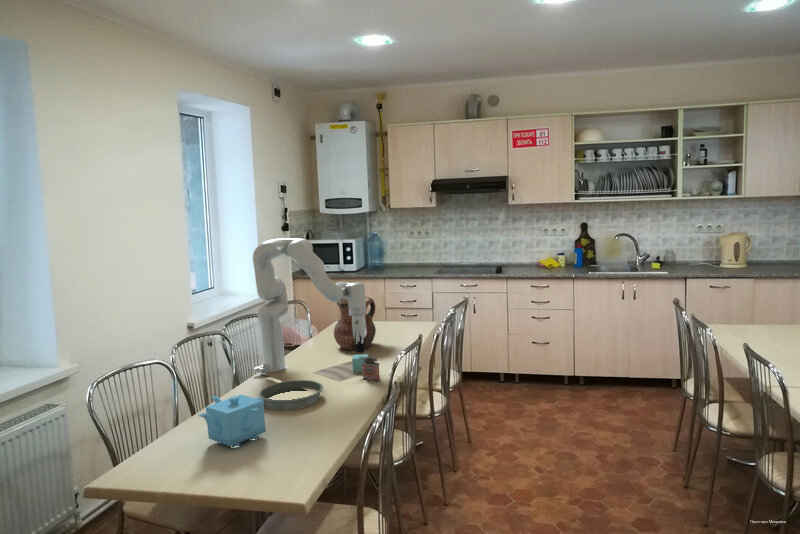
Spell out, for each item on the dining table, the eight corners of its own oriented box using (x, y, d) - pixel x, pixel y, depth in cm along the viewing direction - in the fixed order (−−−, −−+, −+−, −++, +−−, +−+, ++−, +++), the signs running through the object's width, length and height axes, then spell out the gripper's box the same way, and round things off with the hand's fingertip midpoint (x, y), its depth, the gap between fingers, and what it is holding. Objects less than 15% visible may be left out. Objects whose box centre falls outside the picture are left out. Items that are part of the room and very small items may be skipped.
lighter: (361, 380, 258) (359, 357, 257) (365, 378, 261) (363, 355, 260) (377, 382, 254) (376, 359, 253) (381, 380, 257) (380, 356, 256)
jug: (357, 354, 299) (353, 304, 296) (325, 349, 311) (322, 301, 308) (385, 344, 316) (382, 296, 313) (354, 339, 329) (351, 293, 326)
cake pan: (333, 391, 247) (332, 380, 246) (308, 413, 224) (307, 402, 223) (277, 388, 254) (276, 378, 253) (248, 410, 230) (247, 399, 229)
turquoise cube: (352, 372, 265) (352, 358, 265) (354, 367, 272) (354, 354, 271) (367, 371, 265) (366, 358, 264) (369, 367, 271) (368, 354, 270)
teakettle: (268, 427, 212) (265, 386, 210) (262, 449, 194) (258, 404, 192) (212, 432, 210) (208, 391, 208) (201, 455, 192) (196, 410, 190)
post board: (339, 384, 254) (338, 370, 253) (312, 375, 269) (311, 362, 268) (380, 372, 268) (379, 358, 268) (352, 364, 283) (351, 351, 282)
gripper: (364, 314, 257) (367, 356, 260) (368, 307, 272) (371, 347, 274) (346, 315, 258) (349, 357, 260) (351, 308, 273) (354, 348, 275)
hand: (360, 352), depth 267 cm, fingers closed
